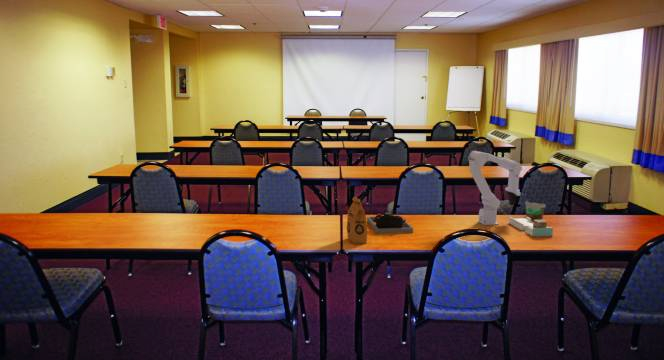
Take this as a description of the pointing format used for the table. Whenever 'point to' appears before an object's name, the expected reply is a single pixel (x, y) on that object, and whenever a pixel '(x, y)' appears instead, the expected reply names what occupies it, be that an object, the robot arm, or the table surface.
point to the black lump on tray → (388, 221)
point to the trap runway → (530, 227)
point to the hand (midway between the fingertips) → (511, 205)
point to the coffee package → (357, 223)
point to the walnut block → (539, 224)
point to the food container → (534, 210)
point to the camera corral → (390, 230)
